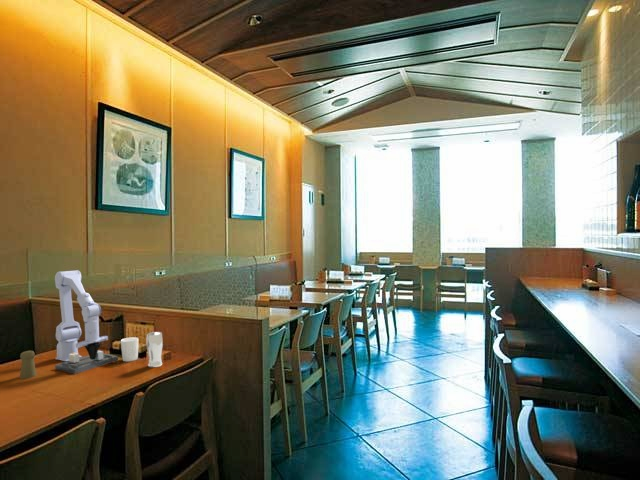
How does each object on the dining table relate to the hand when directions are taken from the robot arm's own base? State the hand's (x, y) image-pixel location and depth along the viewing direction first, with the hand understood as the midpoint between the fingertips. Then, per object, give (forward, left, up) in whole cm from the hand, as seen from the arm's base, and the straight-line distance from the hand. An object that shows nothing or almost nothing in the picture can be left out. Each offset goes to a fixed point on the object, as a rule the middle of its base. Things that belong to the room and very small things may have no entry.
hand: (92, 359), depth 189 cm
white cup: (+9, +14, -3) cm, 16 cm away
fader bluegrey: (0, +3, -1) cm, 3 cm away
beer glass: (+28, +13, -3) cm, 30 cm away
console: (-3, 0, -3) cm, 5 cm away
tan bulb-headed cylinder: (-12, -21, -3) cm, 25 cm away
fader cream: (-7, -5, -1) cm, 8 cm away
